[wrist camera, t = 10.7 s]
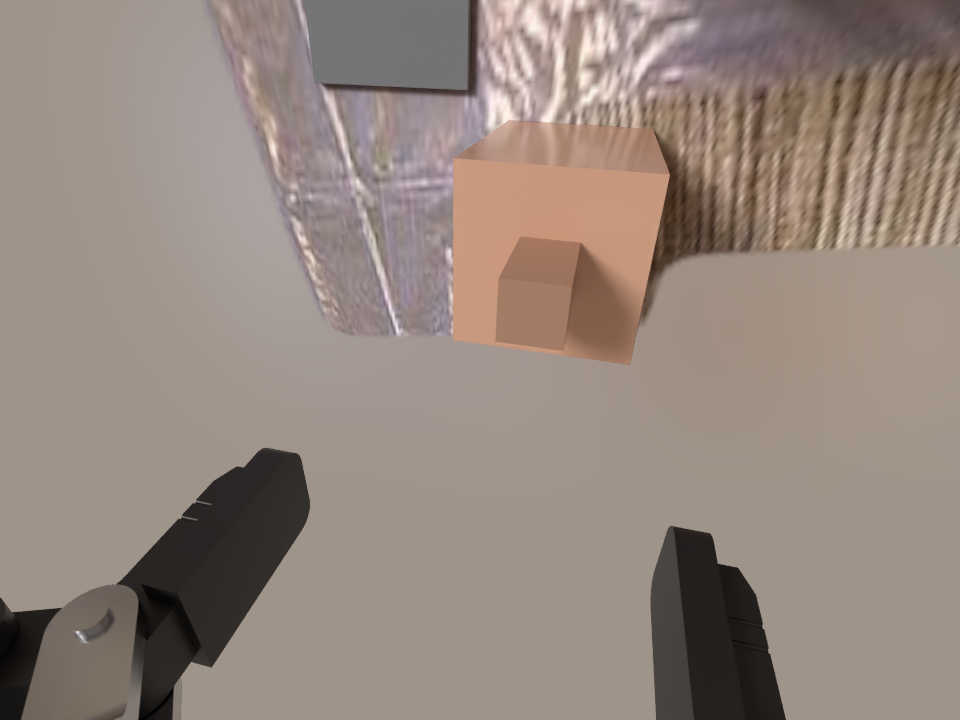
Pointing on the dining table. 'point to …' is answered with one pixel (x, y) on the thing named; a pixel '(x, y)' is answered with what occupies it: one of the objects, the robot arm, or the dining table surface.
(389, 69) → the mat
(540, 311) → the orange square bottle
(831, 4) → the dining table surface
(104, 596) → the robot arm
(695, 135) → the dining table surface
